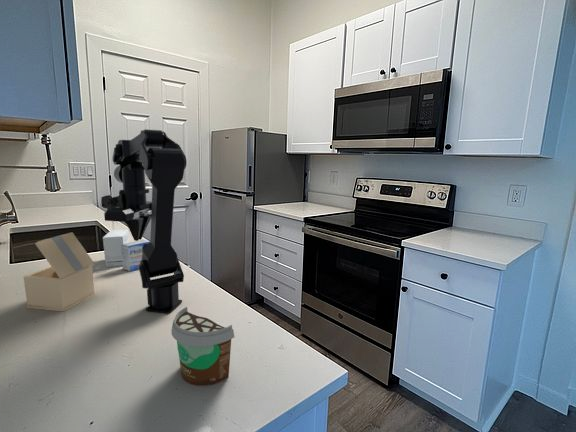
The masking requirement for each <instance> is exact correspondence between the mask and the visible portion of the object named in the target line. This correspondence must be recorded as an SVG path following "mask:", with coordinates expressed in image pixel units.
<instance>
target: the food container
mask: <svg viewBox="0 0 576 432" xmlns="http://www.w3.org/2000/svg"><path fill="white" fill-rule="evenodd" d="M170 331H171V332H170V333H171V336H172V338H173V339H174V340H175V341H176V344H177V345H176V346H177V352H178V358H179V365H180V373H181V378H182V379H183V380H184V381H185V382H186V383H187V384H190V385H192V386H193V385H194V386H197V387H198V386H199V387H203V386H204V387H205V386H206V387H207V386H211V385H215V384H219V383H221V382H223V381H225V380H226V379H228V378H230V377H229V376H230V364H231V363H230V361H231V350H232V339H234V338H235V331H234V328H233V324H231V325H227V326H226V327H225V326H222V325H220V324H218V323H216V322H215V321H213V320H212V319H209V318H208V317H204V316H200V315H199V316H198V315H196V314H194V313H191V312H189V311H188V306H185V307H184V308H182V309H180V310H179V311H178V312H176V314H175V316H174V318H173V321H172V325H171V330H170Z"/></svg>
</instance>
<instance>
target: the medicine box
mask: <svg viewBox="0 0 576 432" xmlns="http://www.w3.org/2000/svg"><path fill="white" fill-rule="evenodd" d="M149 242H150V240H145V239H141V240H138V241H132V242H131V241H130V243H125V244H121V248H122V260H123V266H122V269H123V270H125V271H128V272H133V271H137V270H138V271H139V265H140V261H141V260H142V247H143V245H144V244H149Z"/></svg>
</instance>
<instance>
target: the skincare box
mask: <svg viewBox="0 0 576 432" xmlns="http://www.w3.org/2000/svg"><path fill="white" fill-rule="evenodd" d="M102 243H103V253H104V262H105V268H108V267H109V268H111V267H123V260H122V248H121V244H125V243H131V240H130V230H129V229H117V230H116V229H115V230H109V231H108V232H107V233H106V234H105V235H104V236H103V237H102Z"/></svg>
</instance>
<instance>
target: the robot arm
mask: <svg viewBox="0 0 576 432" xmlns="http://www.w3.org/2000/svg"><path fill="white" fill-rule="evenodd" d="M111 160H112V163H113V164H114V165H115V166H116V167H115V169H114V171H113V176H114V179H115V180H116V181H117V182H118V183H120V184H122V189H120V190H119V191H118V195H117V196H112V195H110V194H108V195H104V196H102V197H101V200H100V201H101V202H100V204H101V207H102V208H103V209H106V210H105V212H104V213H103V215H104V221H106V222H122V223H124V224H126V226H127V227H128V228H127V229H128V230H129V233H130V234H131V236H132V238H133V241H134V242H136V241H141V240H143V237H144V234H145V231H146V230H147V228H148V226H149V223H150V239H149V241H150V242H149V244H144V245H143V247H142V260H141V261H140V265H139V269H138V271H139V276H140V279H141V287H142V288H141V289H146V293H147V299H146V300H147V305H148V306H147V307H146V308H145V311H146V312H155V313H163V314H170V313H172V312H173V311H174V310H175V309H176V308H178V307H179V306H180V305H181V304H182V302H183V299H180V298H179V297H180V296H179V283H184V279H185V274H184V272H183V269H182V266H181V264H180V261H179V258H178V254H177V252H176V251H175V249H174V247H173V246H172V237H173V236H172V235H173V233H172V232H173V220H174V219H173V218H174V203H175V190H176V189H177V188H178V186H179V184H180V183H182V181H183V179H184V174H185V169H186V168H187V157H186V155H185V153H184V151H183V149H182V148H181V146H180V145H179V144H178V143H177V142H175V141H174V140H172V139H171V138H170V137H168V136H167V133H166V132H165V131H163V130H160V129H148V128H147V129H143V130H141V131H140V132H139V134H138V135H136V136H134V137H133V138H132V139H119V140H118V141H117V143H116V144H115V147H114V149H113V154H112V159H111ZM146 177H147V179H148V180H149V181H150V183H151V188H152V189H151V190H152V191H151V201H147V194H149V193H150V189H149V188H146ZM149 211H151V212H149ZM150 213H151V214H150ZM171 274H172V275H171ZM165 275H167V276H165ZM161 276H162V277H161ZM156 277H157V278H156ZM152 278H153V279H152Z"/></svg>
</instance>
